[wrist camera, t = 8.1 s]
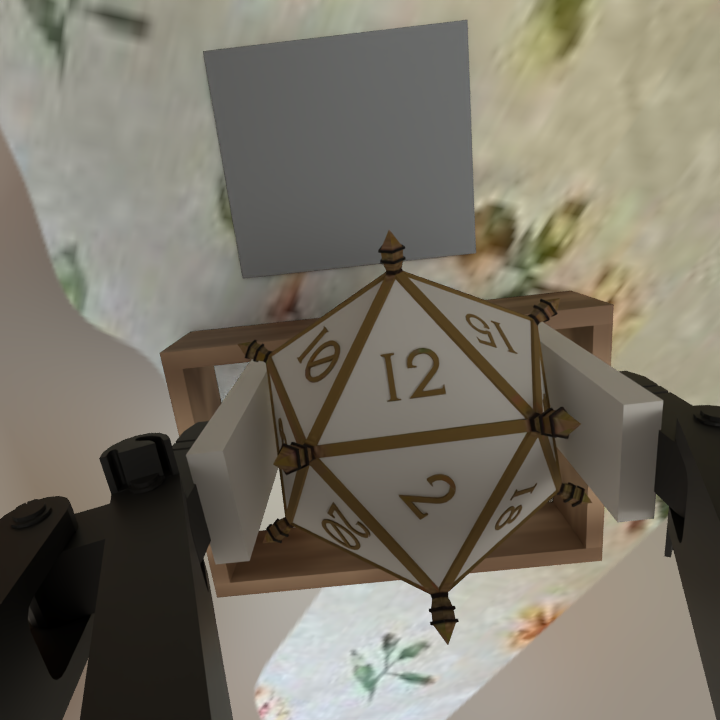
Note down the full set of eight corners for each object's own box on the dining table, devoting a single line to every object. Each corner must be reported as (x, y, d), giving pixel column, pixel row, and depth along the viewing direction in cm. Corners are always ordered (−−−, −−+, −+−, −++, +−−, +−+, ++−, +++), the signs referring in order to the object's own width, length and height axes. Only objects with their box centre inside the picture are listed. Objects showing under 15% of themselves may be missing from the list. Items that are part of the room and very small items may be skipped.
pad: (206, 55, 26) (203, 51, 25) (464, 24, 25) (467, 19, 25) (245, 277, 29) (242, 278, 29) (473, 252, 29) (475, 252, 28)
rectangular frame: (190, 331, 30) (159, 353, 25) (571, 290, 30) (613, 304, 25) (236, 545, 35) (217, 597, 30) (567, 512, 34) (601, 560, 29)
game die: (415, 377, 20) (466, 653, 15) (213, 328, 16) (176, 678, 11) (590, 224, 14) (796, 603, 8) (329, 87, 10) (387, 617, 4)
